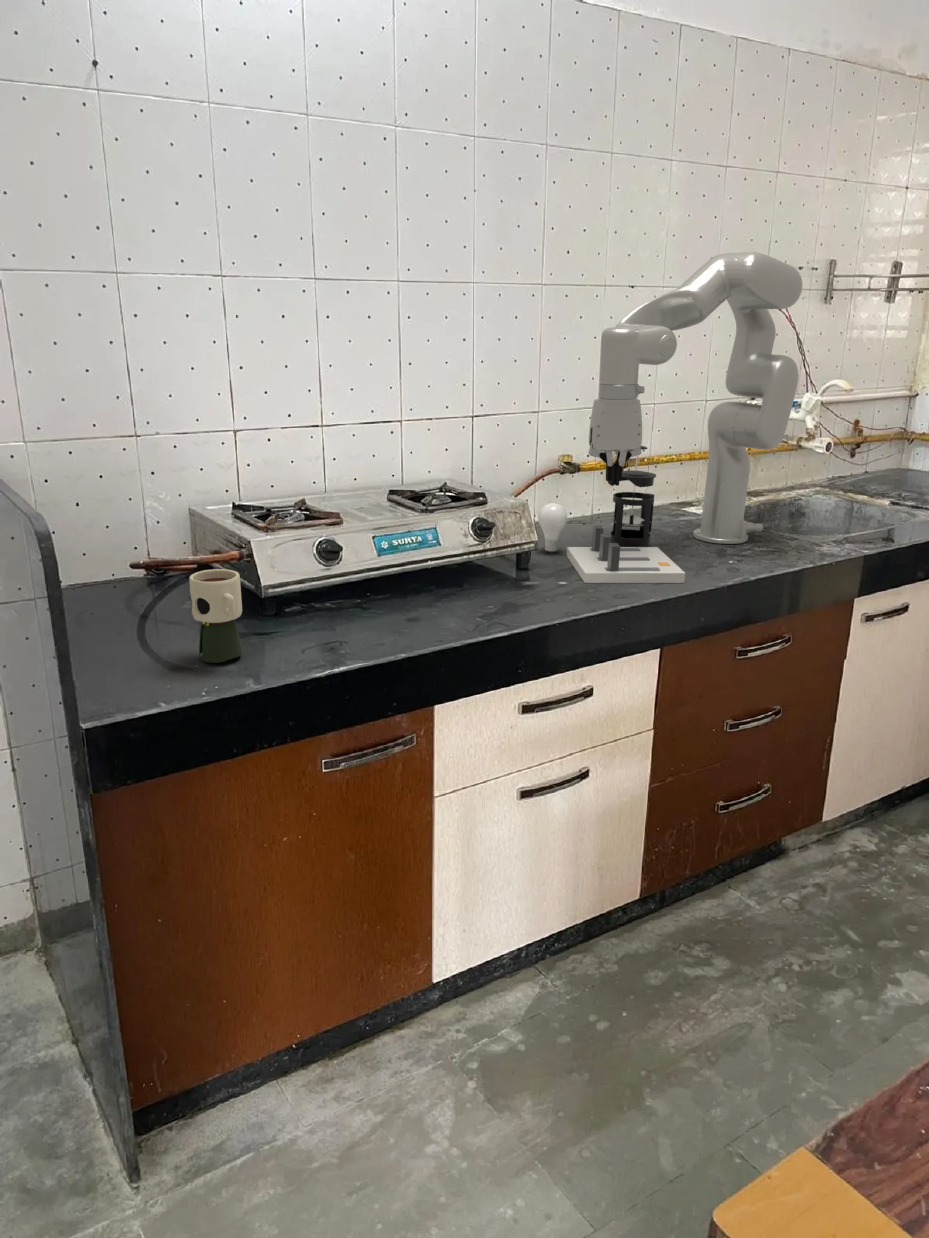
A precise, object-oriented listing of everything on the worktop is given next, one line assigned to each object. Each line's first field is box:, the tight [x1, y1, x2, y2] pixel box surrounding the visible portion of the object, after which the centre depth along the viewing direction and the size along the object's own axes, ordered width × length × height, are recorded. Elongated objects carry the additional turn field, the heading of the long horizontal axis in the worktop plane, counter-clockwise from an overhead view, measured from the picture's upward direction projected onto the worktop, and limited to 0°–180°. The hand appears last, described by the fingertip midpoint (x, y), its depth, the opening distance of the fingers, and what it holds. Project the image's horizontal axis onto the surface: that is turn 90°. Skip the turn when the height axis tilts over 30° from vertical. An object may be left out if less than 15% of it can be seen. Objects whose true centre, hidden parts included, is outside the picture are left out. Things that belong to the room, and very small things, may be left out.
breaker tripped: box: [599, 533, 611, 560], centre depth 179 cm, size 2×3×5 cm, turn 4°
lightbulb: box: [537, 502, 568, 554], centre depth 190 cm, size 6×6×11 cm
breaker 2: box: [607, 543, 620, 570], centre depth 172 cm, size 2×3×5 cm, turn 4°
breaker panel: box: [566, 546, 686, 584], centre depth 180 cm, size 20×20×2 cm
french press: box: [609, 445, 657, 547], centre depth 193 cm, size 12×9×23 cm
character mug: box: [188, 568, 243, 664], centre depth 128 cm, size 11×7×13 cm, turn 39°
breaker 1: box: [591, 524, 604, 550], centre depth 186 cm, size 2×3×5 cm, turn 4°
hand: (613, 484), depth 179 cm, fingers closed
